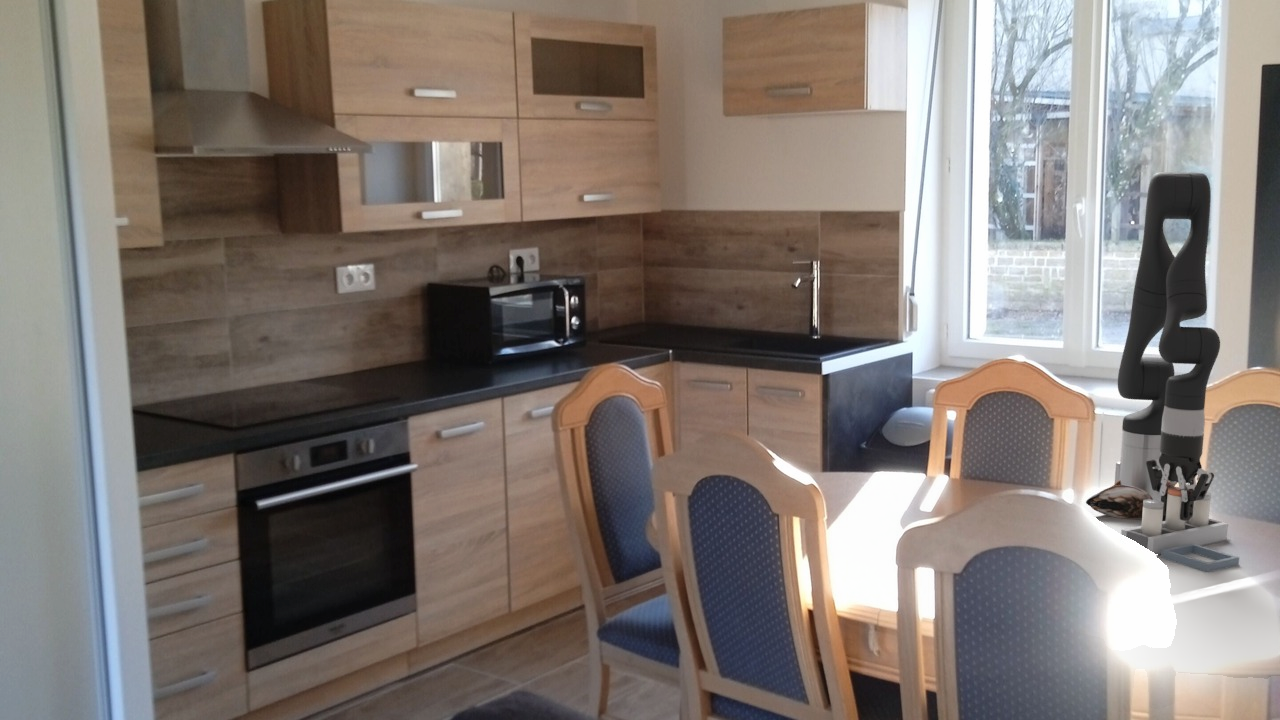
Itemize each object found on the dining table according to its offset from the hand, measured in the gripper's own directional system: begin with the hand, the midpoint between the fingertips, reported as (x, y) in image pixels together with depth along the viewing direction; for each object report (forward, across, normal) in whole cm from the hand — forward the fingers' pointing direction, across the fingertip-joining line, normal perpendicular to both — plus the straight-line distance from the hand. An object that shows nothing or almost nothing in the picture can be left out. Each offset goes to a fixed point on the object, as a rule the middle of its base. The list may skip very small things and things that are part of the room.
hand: (1175, 516), depth 241 cm
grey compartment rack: (+6, 0, 0) cm, 6 cm away
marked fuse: (+3, 0, 0) cm, 3 cm away
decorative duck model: (+7, +16, -6) cm, 18 cm away
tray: (+6, -10, +6) cm, 13 cm away
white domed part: (+5, 0, -7) cm, 9 cm away
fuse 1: (+5, 0, +7) cm, 9 cm away
